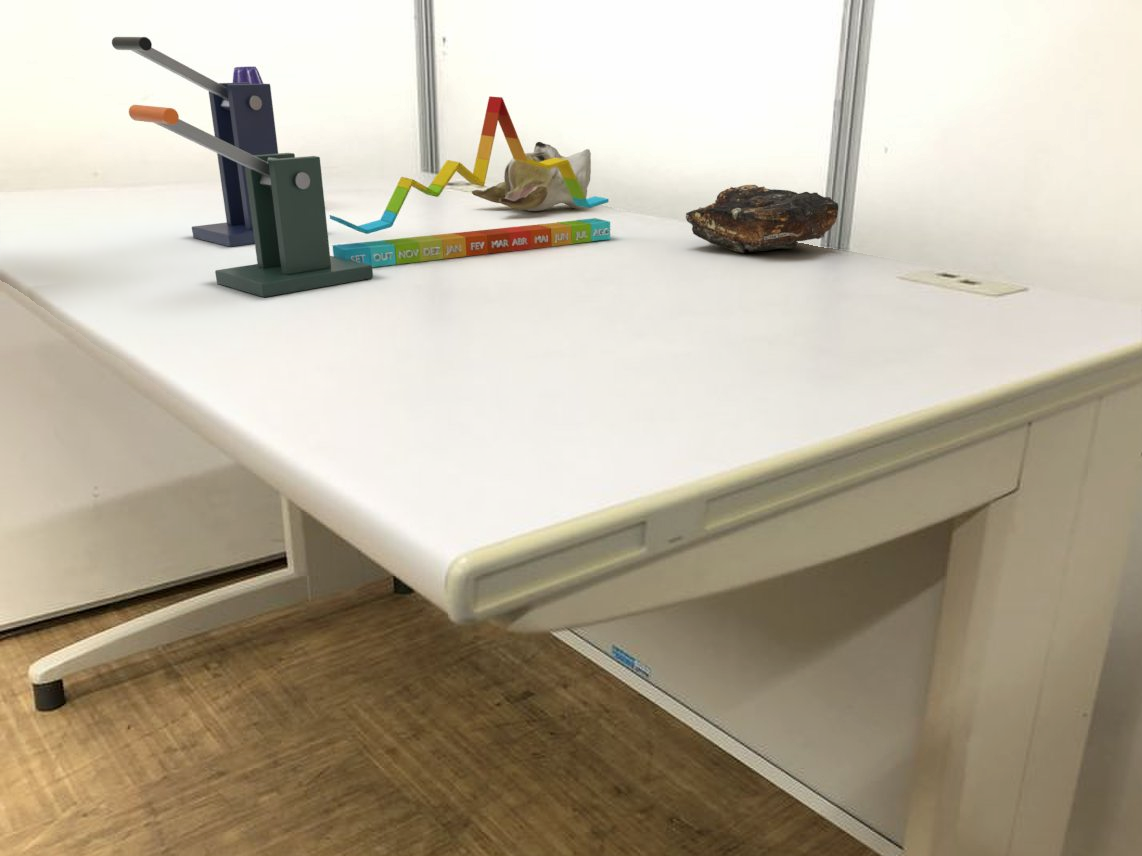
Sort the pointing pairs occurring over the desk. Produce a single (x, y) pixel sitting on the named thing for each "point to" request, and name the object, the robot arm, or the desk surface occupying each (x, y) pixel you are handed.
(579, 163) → the ceramic sculpture
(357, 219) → the desk surface
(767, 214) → the fossil rock
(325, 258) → the front bracket
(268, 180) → the front lever
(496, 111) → the chart
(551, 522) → the desk surface
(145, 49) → the back lever
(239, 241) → the back bracket
